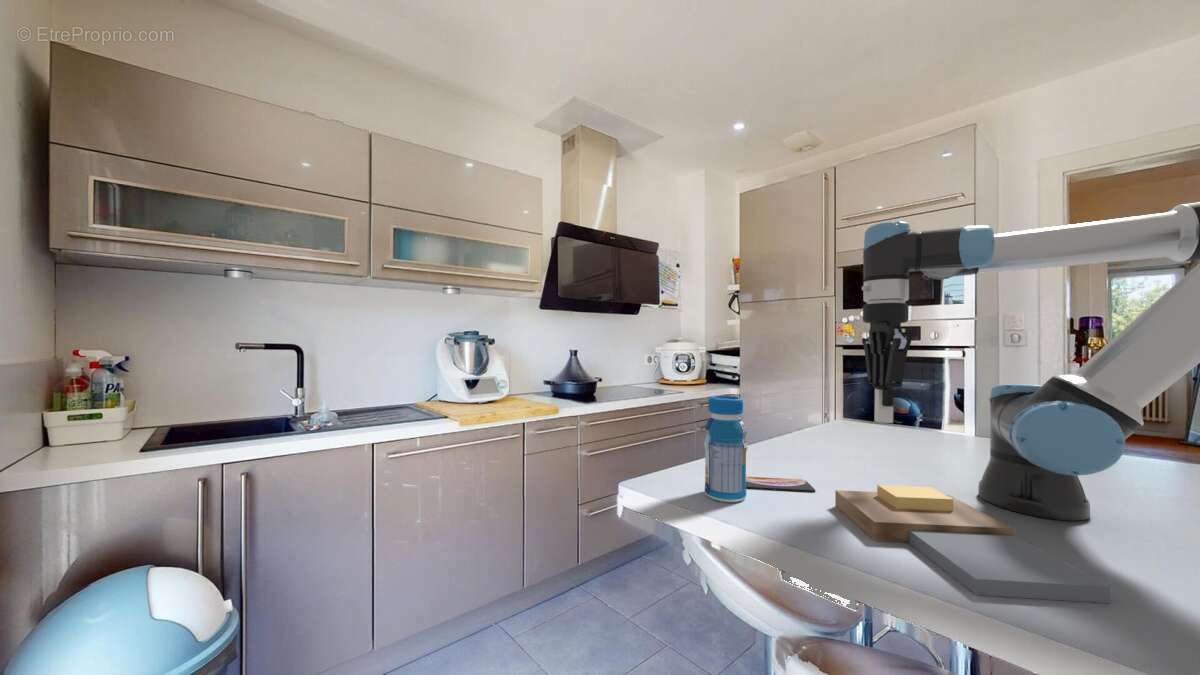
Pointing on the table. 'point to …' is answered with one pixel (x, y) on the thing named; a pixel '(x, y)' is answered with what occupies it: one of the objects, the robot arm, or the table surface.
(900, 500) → the tile
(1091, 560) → the table surface
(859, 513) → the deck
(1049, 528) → the table surface
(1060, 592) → the mat
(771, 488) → the smartphone
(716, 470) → the beverage bottle
